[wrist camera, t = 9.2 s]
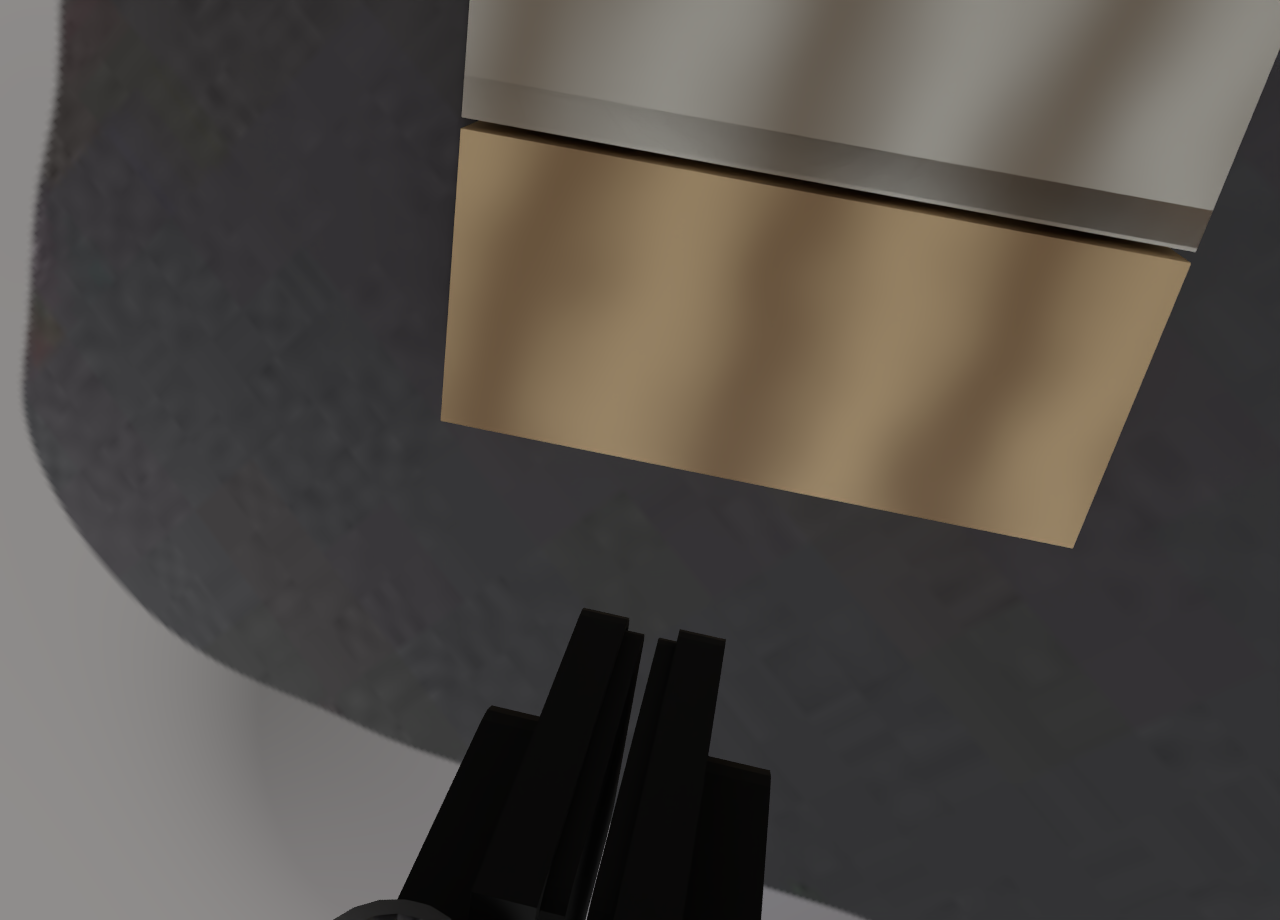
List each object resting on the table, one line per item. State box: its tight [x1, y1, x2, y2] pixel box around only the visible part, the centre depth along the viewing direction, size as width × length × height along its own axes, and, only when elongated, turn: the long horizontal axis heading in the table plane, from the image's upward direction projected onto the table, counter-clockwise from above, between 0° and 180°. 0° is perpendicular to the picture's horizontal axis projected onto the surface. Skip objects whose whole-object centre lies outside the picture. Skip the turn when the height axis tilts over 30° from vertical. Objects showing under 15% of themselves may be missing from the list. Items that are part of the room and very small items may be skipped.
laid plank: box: [462, 0, 1280, 252], centre depth 26 cm, size 20×9×2 cm, turn 81°
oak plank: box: [441, 120, 1191, 548], centre depth 30 cm, size 20×9×2 cm, turn 81°
